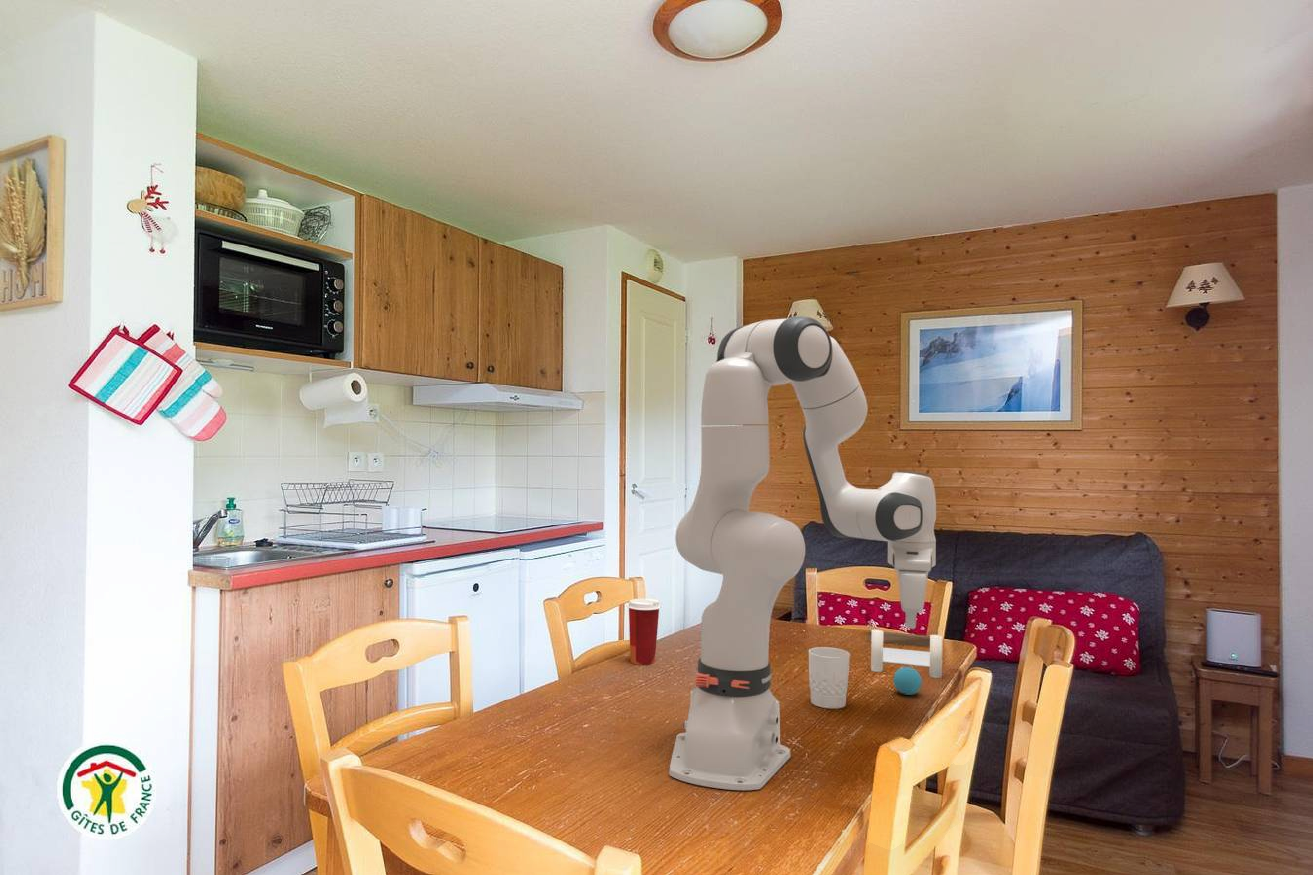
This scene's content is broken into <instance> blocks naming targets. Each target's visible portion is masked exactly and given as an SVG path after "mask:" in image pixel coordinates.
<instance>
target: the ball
mask: <svg viewBox="0 0 1313 875" xmlns="http://www.w3.org/2000/svg"><path fill="white" fill-rule="evenodd" d="M922 683H923V680H922V677H921V675H920V673H919V672H918V670H916V669H915V668H913V667H909V666H904V667H903V666H902V667H900V668H898V669H897V670H896V671H895V673H894V675H893V685H894V687H895V688H896V690H897V691H898V692H900V693H901V694H903V695H905V696H913V695H915V694H917V693H918V692H919V691H920V689H921V688H922Z"/></svg>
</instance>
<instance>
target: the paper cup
mask: <svg viewBox="0 0 1313 875" xmlns="http://www.w3.org/2000/svg"><path fill="white" fill-rule="evenodd" d="M626 606H627V608H628V621H629V622H628V626H629V654H630V658H629V660H630V663H631V664H632V665H635V666H637V665H638V666H650V665H653V664H654V663H655V660H656V654H657V652H656V651H657V643H658V642H657V640H658V631H659V630H658V626H659V615H660V609H661V607H662V606H661V605H660V601H659V600H657V599H655V598H647V597H646V598H641V597H640V598H633V599H630V601H629V602H628V604H627V605H626Z"/></svg>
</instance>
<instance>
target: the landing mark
mask: <svg viewBox="0 0 1313 875" xmlns="http://www.w3.org/2000/svg"><path fill="white" fill-rule="evenodd" d="M883 663H887V664H889V663H890V664H898V665H899V664H900V665H908V666H917V667H927V668H930V651H922V650H913V649H904V648H903V649H901V648H895V647H894V648H893V647H883Z"/></svg>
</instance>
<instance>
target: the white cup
mask: <svg viewBox="0 0 1313 875" xmlns="http://www.w3.org/2000/svg"><path fill="white" fill-rule="evenodd" d="M850 653H851V652H848V650H845V649H841V648H838V647H837V648H836V647H828V646H820V647H819V646H817V647H812V648H809V649H808V672H809V673H808V674H809V675H808V676H809V688H810V703H811V704H812V705H813V706H816V707H819V708H822V709H828V710H829V709H830V710H831V709H834V710H836V709H842V708H844V707H846V703H847V692H848V685H849V676H850V675H849V674H850V658H851V654H850Z"/></svg>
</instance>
